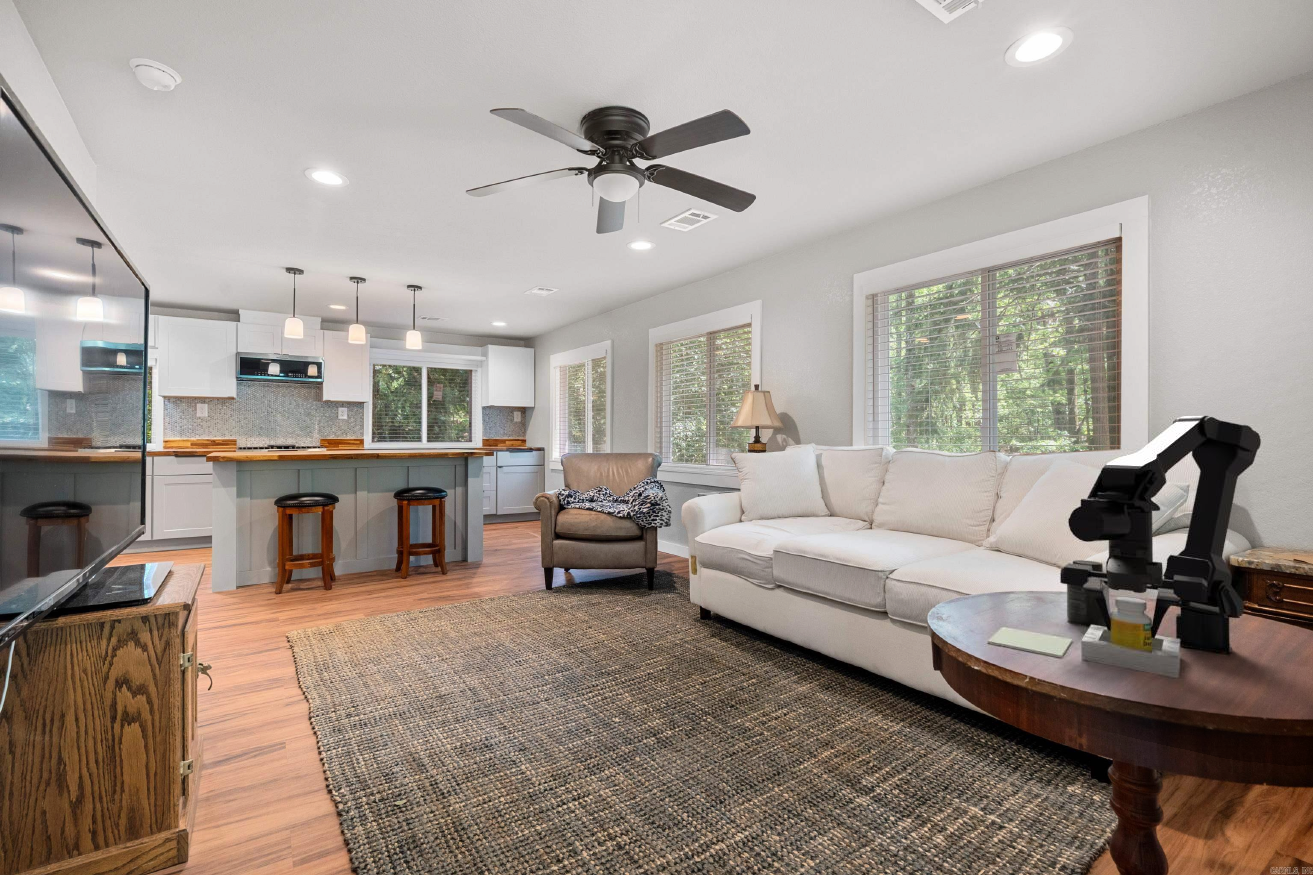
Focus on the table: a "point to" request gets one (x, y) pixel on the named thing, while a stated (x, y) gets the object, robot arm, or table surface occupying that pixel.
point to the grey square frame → (1132, 653)
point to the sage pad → (1031, 642)
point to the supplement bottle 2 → (1131, 623)
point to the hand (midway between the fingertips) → (1130, 633)
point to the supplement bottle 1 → (1084, 601)
